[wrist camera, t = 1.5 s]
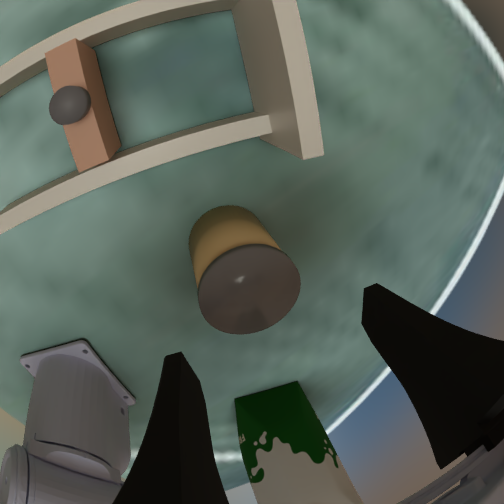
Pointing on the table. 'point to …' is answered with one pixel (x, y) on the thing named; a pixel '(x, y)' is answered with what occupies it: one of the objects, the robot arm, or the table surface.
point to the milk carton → (289, 450)
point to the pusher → (81, 103)
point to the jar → (240, 272)
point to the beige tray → (203, 136)
